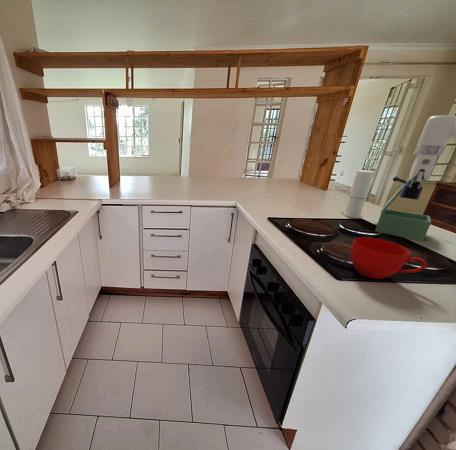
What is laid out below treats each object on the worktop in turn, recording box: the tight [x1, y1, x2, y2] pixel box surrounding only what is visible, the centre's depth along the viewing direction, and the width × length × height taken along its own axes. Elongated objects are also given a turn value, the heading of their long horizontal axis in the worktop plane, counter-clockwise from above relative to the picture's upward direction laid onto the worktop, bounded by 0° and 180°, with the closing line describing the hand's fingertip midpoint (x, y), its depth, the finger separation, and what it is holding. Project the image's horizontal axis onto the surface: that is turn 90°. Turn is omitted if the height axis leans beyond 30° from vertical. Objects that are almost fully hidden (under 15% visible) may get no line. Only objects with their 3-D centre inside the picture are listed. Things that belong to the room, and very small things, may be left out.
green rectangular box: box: [374, 208, 432, 242], centre depth 108 cm, size 16×13×9 cm
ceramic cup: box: [350, 236, 428, 280], centre depth 73 cm, size 13×17×10 cm
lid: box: [380, 175, 410, 213], centre depth 109 cm, size 16×13×5 cm
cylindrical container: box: [343, 169, 375, 219], centre depth 129 cm, size 7×7×25 cm
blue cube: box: [399, 183, 424, 201], centre depth 96 cm, size 5×5×5 cm
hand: (408, 196), depth 97 cm, fingers closed on blue cube, 4 cm apart
